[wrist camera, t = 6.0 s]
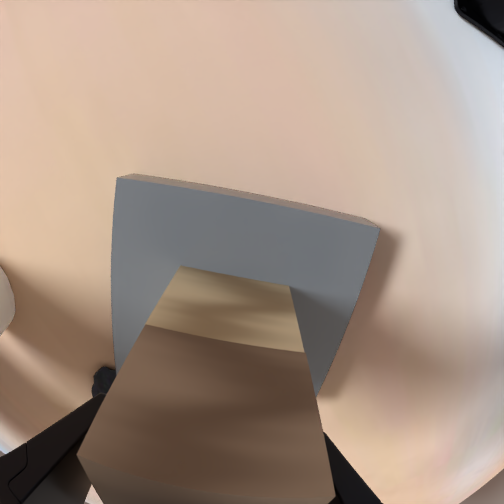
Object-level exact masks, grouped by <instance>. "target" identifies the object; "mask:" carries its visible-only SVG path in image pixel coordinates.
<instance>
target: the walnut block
mask: <svg viewBox="0 0 504 504" xmlns="http://www.w3.org/2000/svg"><path fill="white" fill-rule="evenodd" d="M77 456H78V458H79V460H80V462H81V464H82V466H83V468H84V470H85V472H86V474H87V476H88V478H89V480H90V481H91V483H92V485H93V487H94V488H95V490H96V492H97V494H98V495H99V497H100V499H101V500H102V502H103V504H328V503H329V502H330V501H331V500H332V499H333V498H334V497H335V490H334V485H333V479H332V474H331V469H330V464H329V459H328V454H327V449H326V444H325V439H324V434H323V429H322V424H321V419H320V415H319V410H318V405H317V401H316V396H315V391H314V387H313V382H312V378H311V373H310V369H309V364H308V360H307V356H306V353H304V352H296V351H288V350H280V349H273V348H266V347H259V346H253V345H247V344H241V343H235V342H229V341H223V340H218V339H212V338H207V337H202V336H197V335H192V334H187V333H183V332H178V331H173V330H169V329H164V328H160V327H156V326H151V325H147V324H145V326H144V328H143V329H142V331H141V333H140V335H139V336H138V338H137V340H136V342H135V343H134V345H133V347H132V349H131V351H130V352H129V354H128V356H127V358H126V360H125V361H124V363H123V365H122V367H121V369H120V370H119V372H118V374H117V376H116V378H115V380H114V382H113V383H112V385H111V387H110V389H109V391H108V393H107V395H106V397H105V399H104V401H103V402H102V404H101V406H100V408H99V410H98V412H97V414H96V416H95V418H94V420H93V422H92V424H91V426H90V428H89V430H88V432H87V434H86V436H85V438H84V440H83V442H82V444H81V446H80V449H79V451H78V453H77Z"/></svg>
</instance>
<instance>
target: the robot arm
mask: <svg viewBox="0 0 504 504" xmlns="http://www.w3.org/2000/svg"><path fill="white" fill-rule="evenodd" d="M454 7H455V10H456V11H457V13H458V14H460V15H461V16H462V17H464V18H465V19H467V20H468V21H470V22H471V23H473V24H474V25H476V26H477V27H479V28H480V29H481V30H483V31H484V32H486V33H487V34H488V35H490V36H491V37H492V38H494V39H495V40H496V41H497V42H499V43H500V44H501V45H502V46H504V0H454ZM461 8H462V9H461ZM106 395H107V394H105V393H99V394H98V395H96V396H95V397H93V398H92V399H90V400H89V401H87V402H86V403H84V404H83V405H81V406H80V407H79V408H77V409H76V410H74V411H73V412H71V413H70V414H68V415H67V416H65V417H64V418H62V419H61V420H59V421H58V422H56V423H55V424H53V425H52V426H50V427H49V428H47V429H46V430H44V431H43V432H41V433H39V434H38V435H36V436H35V437H33V438H32V439H30V440H29V441H27V443H24V444H22V445H21V446H19V447H18V448H16V449H14V450H13V451H11V452H9V453H7V454H5V455H4V456H1V457H0V504H84V502H85V499H86V497H87V494H88V492H89V489H90V487H91V484H92V483H91V481H90V480H89V478H88V476H87V474H86V472H85V470H84V468H83V466H82V464H81V462H80V460H79V458H78V456H77V453H78V451H79V449H80V446H81V444H82V442H83V440H84V438H85V436H86V434H87V432H88V430H89V428H90V426H91V424H92V422H93V420H94V418H95V416H96V414H97V412H98V410H99V408H100V406H101V404H102V402H103V401H104V399H105V397H106ZM323 434H324V439H325V444H326V449H327V454H328V459H329V464H330V469H331V474H332V479H333V485H334V490H335V497H334V498H333V499H332V500H331V501H330V502H329V503H328V504H383V503H382V502H381V501H380V500H379V498H378V497H377V496H376V495H375V494H374V492H373V491H372V490H371V489H370V488H369V487H368V485H367V484H366V483H365V482H364V481H363V479H362V478H361V477H360V476H359V475H358V473H357V472H356V471H355V470H354V468H353V467H352V466H351V465H350V463H349V462H348V461H347V460H346V459H345V457H344V456H343V455H342V454H341V452H340V451H339V450H338V449H337V447H336V446H335V445H334V443H333V442H332V441H331V440H330V438H329V437H328V436H327V435H326V433H325V432H323Z"/></svg>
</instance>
